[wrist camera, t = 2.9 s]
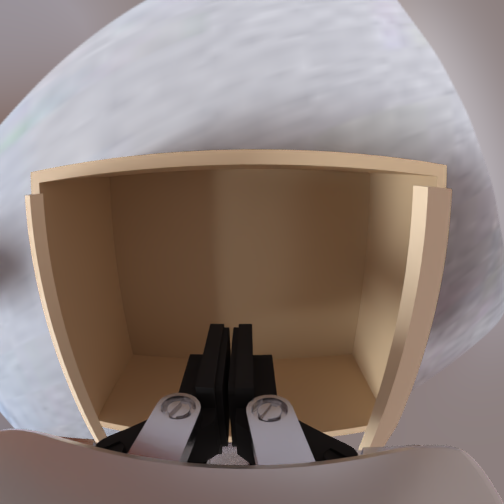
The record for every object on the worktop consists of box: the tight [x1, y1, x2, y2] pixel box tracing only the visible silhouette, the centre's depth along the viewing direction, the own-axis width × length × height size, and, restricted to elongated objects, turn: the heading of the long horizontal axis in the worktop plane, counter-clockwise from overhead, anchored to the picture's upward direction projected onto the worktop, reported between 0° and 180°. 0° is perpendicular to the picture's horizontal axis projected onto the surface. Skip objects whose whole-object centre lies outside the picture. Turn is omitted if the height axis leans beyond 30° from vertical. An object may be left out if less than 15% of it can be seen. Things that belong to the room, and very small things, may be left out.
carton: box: [31, 149, 447, 442], centre depth 18 cm, size 16×20×9 cm
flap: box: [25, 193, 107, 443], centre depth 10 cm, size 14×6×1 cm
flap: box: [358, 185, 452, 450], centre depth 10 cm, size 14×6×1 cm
